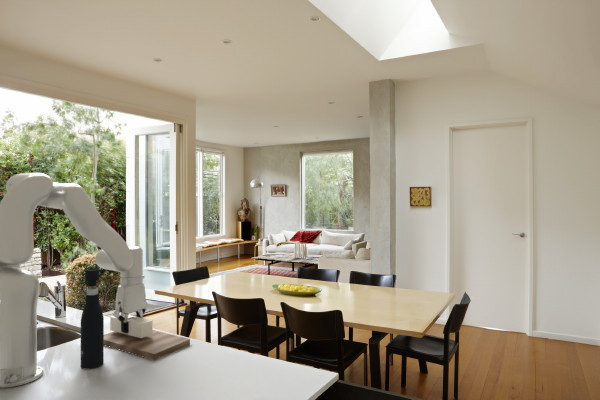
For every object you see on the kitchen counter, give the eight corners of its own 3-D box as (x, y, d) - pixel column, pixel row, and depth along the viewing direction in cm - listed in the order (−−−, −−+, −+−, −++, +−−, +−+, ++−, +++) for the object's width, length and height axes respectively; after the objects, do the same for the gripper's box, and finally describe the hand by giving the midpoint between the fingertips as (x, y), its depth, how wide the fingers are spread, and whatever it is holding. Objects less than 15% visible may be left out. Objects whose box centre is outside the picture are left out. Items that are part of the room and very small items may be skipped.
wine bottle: (107, 361, 133) (107, 268, 132) (95, 369, 126) (96, 271, 126) (88, 360, 133) (88, 267, 133) (76, 368, 127) (76, 271, 126)
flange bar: (152, 334, 149) (152, 320, 149) (140, 338, 145) (141, 324, 145) (122, 326, 157) (122, 313, 157) (110, 330, 153) (110, 316, 153)
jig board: (189, 344, 148) (190, 323, 148) (154, 360, 134) (154, 337, 134) (133, 330, 163) (133, 311, 162) (95, 342, 149) (95, 322, 148)
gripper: (143, 275, 160) (143, 322, 160) (103, 283, 145) (103, 335, 146) (157, 277, 156) (157, 325, 157) (117, 286, 141) (117, 339, 142)
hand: (131, 329), depth 151 cm, fingers closed on flange bar, 5 cm apart
